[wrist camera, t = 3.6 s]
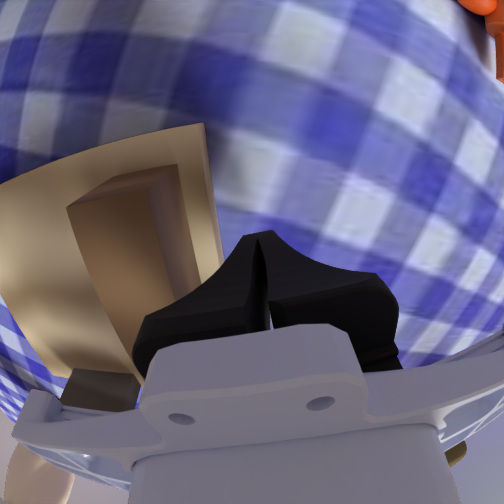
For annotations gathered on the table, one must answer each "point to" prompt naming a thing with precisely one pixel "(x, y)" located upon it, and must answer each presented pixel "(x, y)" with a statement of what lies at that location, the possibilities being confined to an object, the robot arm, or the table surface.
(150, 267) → the folding leg
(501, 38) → the orange blocky toy
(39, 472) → the water bottle
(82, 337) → the board
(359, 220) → the table surface
